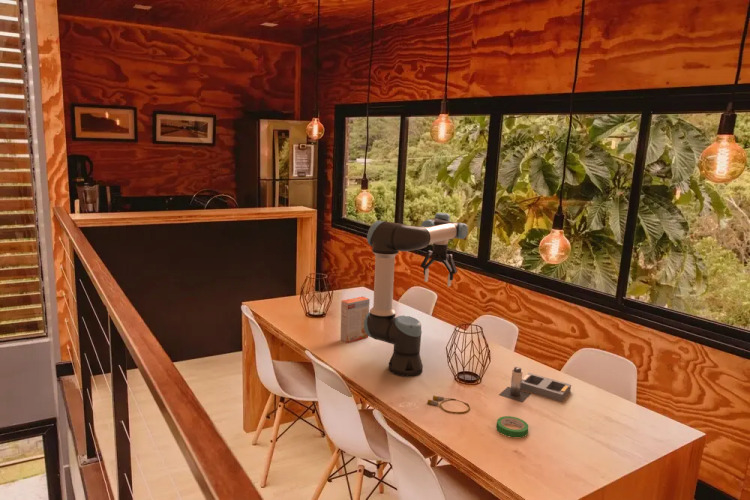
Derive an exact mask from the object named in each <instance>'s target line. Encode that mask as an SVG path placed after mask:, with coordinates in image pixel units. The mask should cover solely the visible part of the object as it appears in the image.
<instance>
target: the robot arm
mask: <svg viewBox="0 0 750 500" xmlns="http://www.w3.org/2000/svg"><path fill="white" fill-rule="evenodd" d="M450 217H451V216H450V214H449V213H446V212H436V213H435V215H434V218H428V219H425V220H423V221H422V222H421V224H420V225H419V226H417V225H416V226H414V225H409V224H405V223H397V222H393V221H392V222H391V221H387V220H383V221H382V220H377V221H375V222H374V223H372V224H371V226H370V227H369V228H368V231H367V235H366V241H367V244H368V245H369V246H370V247H371V248H372V249H371V252H372V254H373V255H374V256H375V257H374V258H375V260H374V262H375V263H374V286H373V303H372V305H373V307H372V308H371V309H369V313H368V314H367V315H366V319H365V320H364V330H365V332H366V334H367V335H368V338H372V339H374V340H377V341H382V342H383V343H384V342H385V343H388V344H391V345H393V351H392V354H391V358H389V359H390V360H389V362H388V371H389V372H390V373H391V374H394V375H396V376H399V377H416V376H419V375H421V374H422V373H423V372H424V371H423V361H422V358H421V344H422V343H421V340H422V333H423V331H422V323H421V322H420V320H419V319H417V318H415V317H413V316H410V315H407V316H406V315H398V316H396V313H397V312H396V310H395V309H394V307H393V306H394V305H393V304H394V303H393V301H394V300H393V299H394V283H395V282H394V281H395V259H396V256H397V255H398V254H399V252H409V251H410V252H411V251H417V250H421V249H425V248H427V247H428V246H429V245H431V244H432V250H431V249H429V250H427V252H426V255H425V257H424V258H423V261H422V262H421V263H420V268H423V275H424V281H423V282H426V283H427V282H429V276H430V275H429V273H430V272H429V271H430V268H429V267H430V266H431V265H432V264H433V263H434V262H440V263H442V264H443V266H445V268H446V270H447V272H448V275H447V285H446V287H448V288H449V287H451V286H452V281H453V280H454V275H456V274H457V273H458V270H457V267H456V264H455V261H454V257H453V256H454V255H453V254H452V253H450V254H448V248H449V247H448V244H449V240H452V239H459V240H460V239H461V240H464V239H466V238H467V236H468V234H469V233H468V232H469V227H468V225H467V224H466V223H462V222H458V221H457V222H456V221H451V218H450ZM431 256H432V257H431ZM430 257H431V259H430Z"/></svg>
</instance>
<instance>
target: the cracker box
mask: <svg viewBox="0 0 750 500" xmlns="http://www.w3.org/2000/svg"><path fill="white" fill-rule="evenodd" d="M340 301H341V302H340V303H341V304H340V306H341V307H340V341H341V342H344V343H346V344H349V343H353V342H357V341H360V340H364V339H367V338H369V336H368V335H367V334H366V332H365V330H364V320H365V319H366V315H367V314H368V313H369V312H370V298H369V297H366V296H359V297H354V298H347V299H344V300H340Z"/></svg>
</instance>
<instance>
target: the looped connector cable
mask: <svg viewBox="0 0 750 500" xmlns="http://www.w3.org/2000/svg"><path fill="white" fill-rule="evenodd" d="M456 400H457V402H461V403H463V405H465V406H467V408H468V409H467V410H465V411H463V410H462V411H452V410H451V411H450V410H447V409H444V407H443V406H442V404H443V403H445V402H449V401H456ZM440 401H442V402H440ZM426 402H427V404H429V405H432V406H438V407H439V409H440V408H441V410H443V411H444V412H446V413H449V414H455V413H457V414H458V415H459V414H460V415H461V413H462V414H465V413H467V412H469V411H470V410H471V408H470V404H469V403H467V402H464V401H462V400H458V399H456V398H449V397H448V398H447V397H446V398H444V396H440V395H439V396H437V395H432V399H427V401H426ZM439 402H440V403H439Z"/></svg>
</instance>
